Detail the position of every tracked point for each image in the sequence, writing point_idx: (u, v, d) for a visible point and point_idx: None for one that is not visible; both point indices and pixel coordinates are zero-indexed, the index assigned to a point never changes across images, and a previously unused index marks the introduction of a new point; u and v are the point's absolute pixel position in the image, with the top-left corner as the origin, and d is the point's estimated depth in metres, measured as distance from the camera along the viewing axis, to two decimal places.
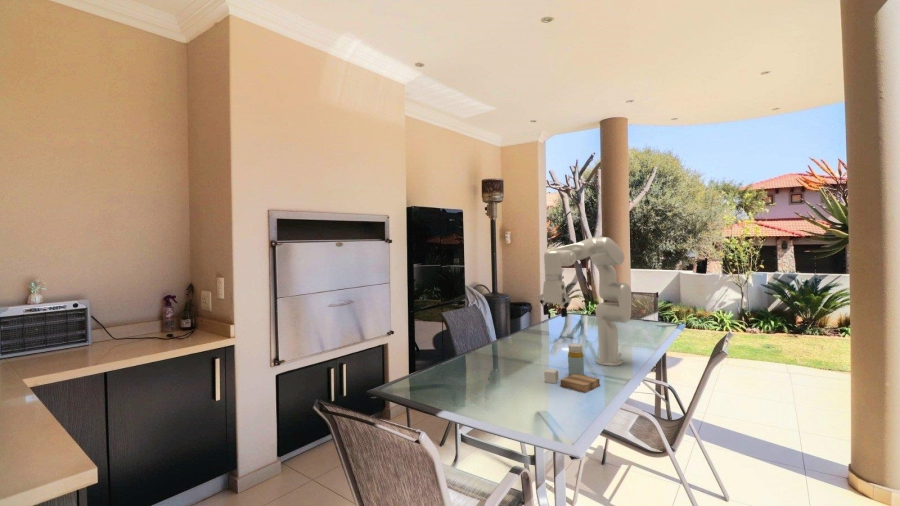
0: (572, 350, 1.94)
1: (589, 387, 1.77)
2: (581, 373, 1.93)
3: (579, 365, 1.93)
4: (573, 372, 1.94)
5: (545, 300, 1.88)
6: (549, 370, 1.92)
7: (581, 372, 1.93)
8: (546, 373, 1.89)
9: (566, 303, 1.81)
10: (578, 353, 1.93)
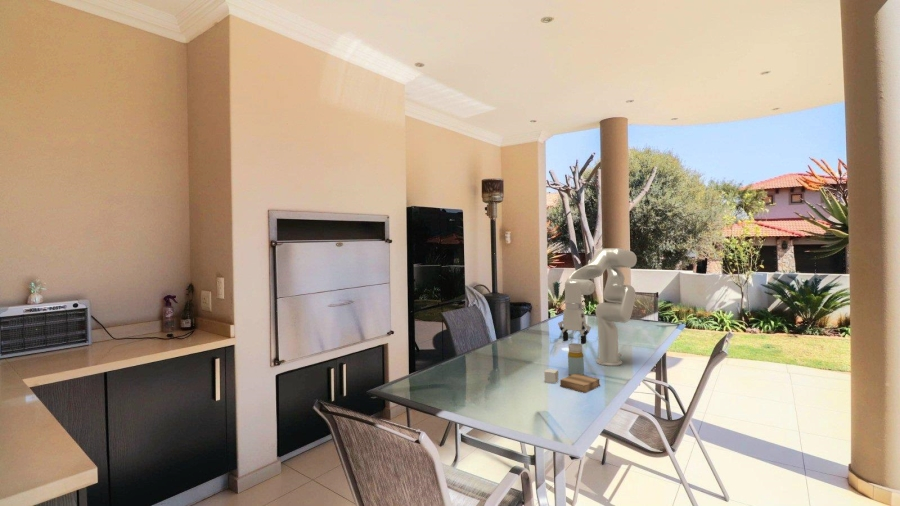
0: (572, 350, 1.94)
1: (589, 387, 1.77)
2: (581, 373, 1.93)
3: (579, 365, 1.93)
4: (573, 372, 1.94)
5: (565, 327, 1.97)
6: (549, 370, 1.92)
7: (581, 372, 1.93)
8: (546, 373, 1.89)
9: (586, 331, 1.90)
10: (578, 353, 1.93)
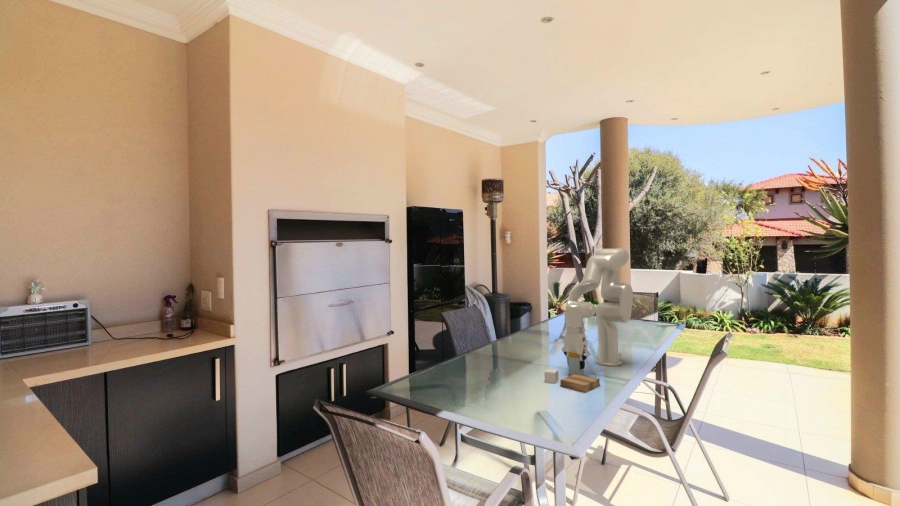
0: (572, 350, 1.94)
1: (589, 387, 1.77)
2: (581, 373, 1.93)
3: (579, 365, 1.93)
4: (573, 372, 1.94)
5: (566, 350, 1.98)
6: (549, 370, 1.92)
7: (581, 372, 1.93)
8: (546, 373, 1.89)
9: (584, 356, 1.92)
10: None
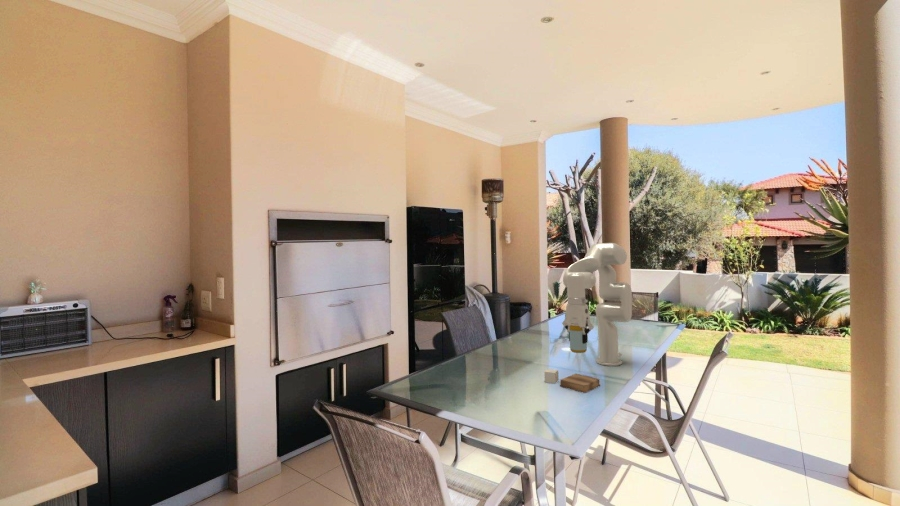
0: (574, 323, 1.80)
1: (589, 387, 1.77)
2: (583, 348, 1.79)
3: (581, 339, 1.79)
4: (575, 347, 1.80)
5: (568, 324, 1.84)
6: (549, 370, 1.92)
7: (583, 346, 1.79)
8: (546, 373, 1.89)
9: (587, 329, 1.77)
10: None
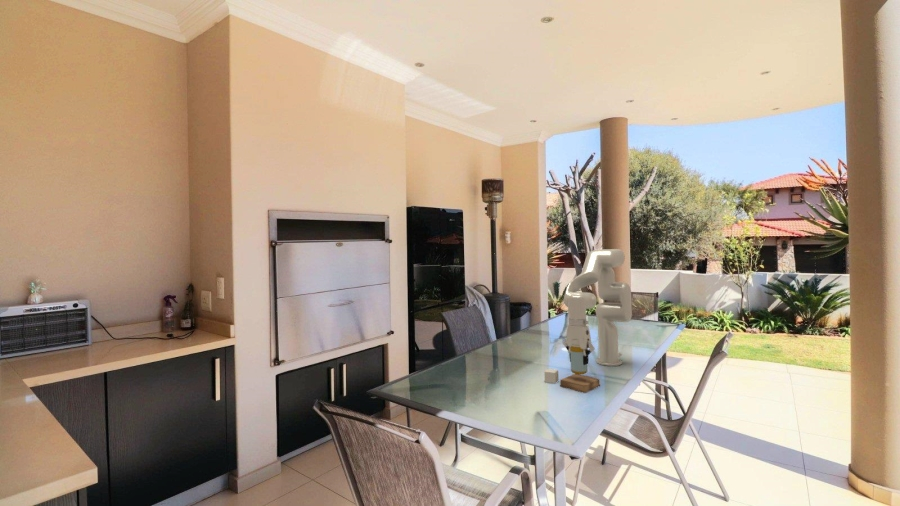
0: (575, 344, 1.80)
1: (589, 387, 1.77)
2: (584, 369, 1.79)
3: (582, 360, 1.79)
4: (576, 368, 1.80)
5: (569, 344, 1.84)
6: (549, 370, 1.92)
7: (584, 368, 1.79)
8: (546, 373, 1.89)
9: (588, 351, 1.78)
10: None
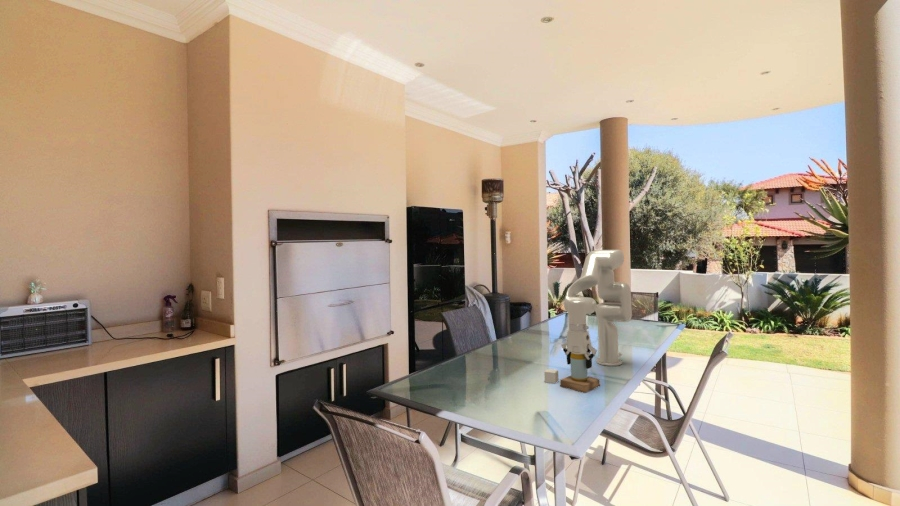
0: (575, 351, 1.80)
1: (589, 387, 1.77)
2: (584, 376, 1.80)
3: (582, 367, 1.79)
4: (576, 375, 1.80)
5: (569, 349, 1.84)
6: (549, 370, 1.92)
7: (584, 375, 1.80)
8: (546, 373, 1.89)
9: (591, 355, 1.76)
10: (581, 354, 1.80)
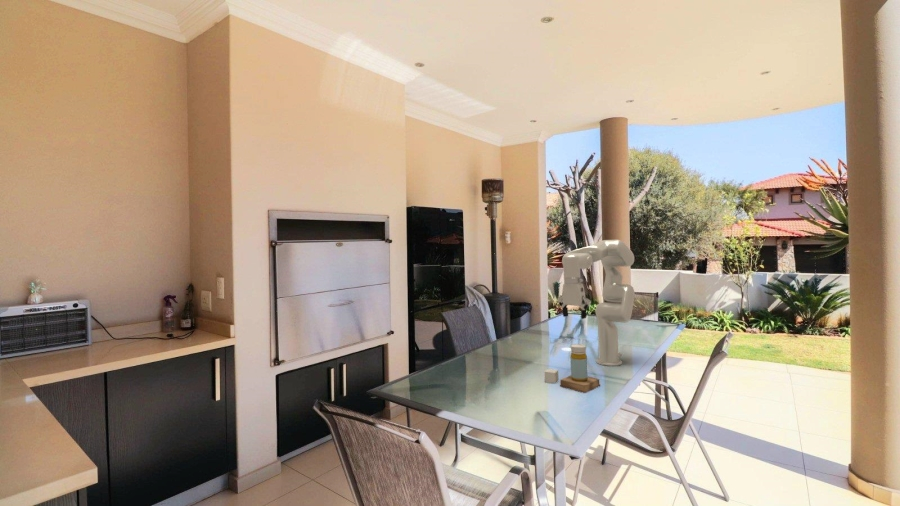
0: (575, 351, 1.80)
1: (589, 387, 1.77)
2: (584, 376, 1.80)
3: (582, 367, 1.79)
4: (576, 375, 1.80)
5: (564, 302, 1.94)
6: (549, 370, 1.92)
7: (584, 375, 1.80)
8: (546, 373, 1.89)
9: (586, 305, 1.87)
10: (581, 354, 1.80)
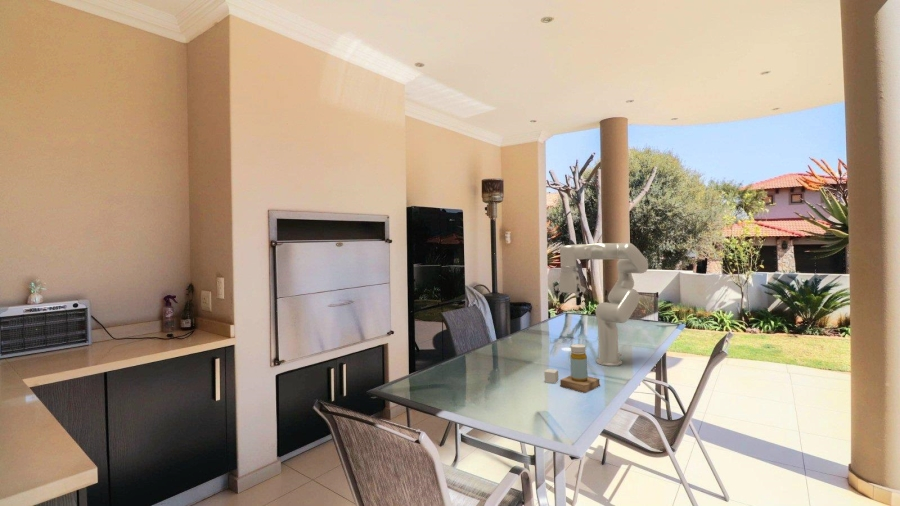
0: (575, 351, 1.80)
1: (589, 387, 1.77)
2: (584, 376, 1.80)
3: (582, 367, 1.79)
4: (576, 375, 1.80)
5: (561, 290, 2.06)
6: (549, 370, 1.92)
7: (584, 375, 1.80)
8: (546, 373, 1.89)
9: (581, 292, 1.98)
10: (581, 354, 1.80)
